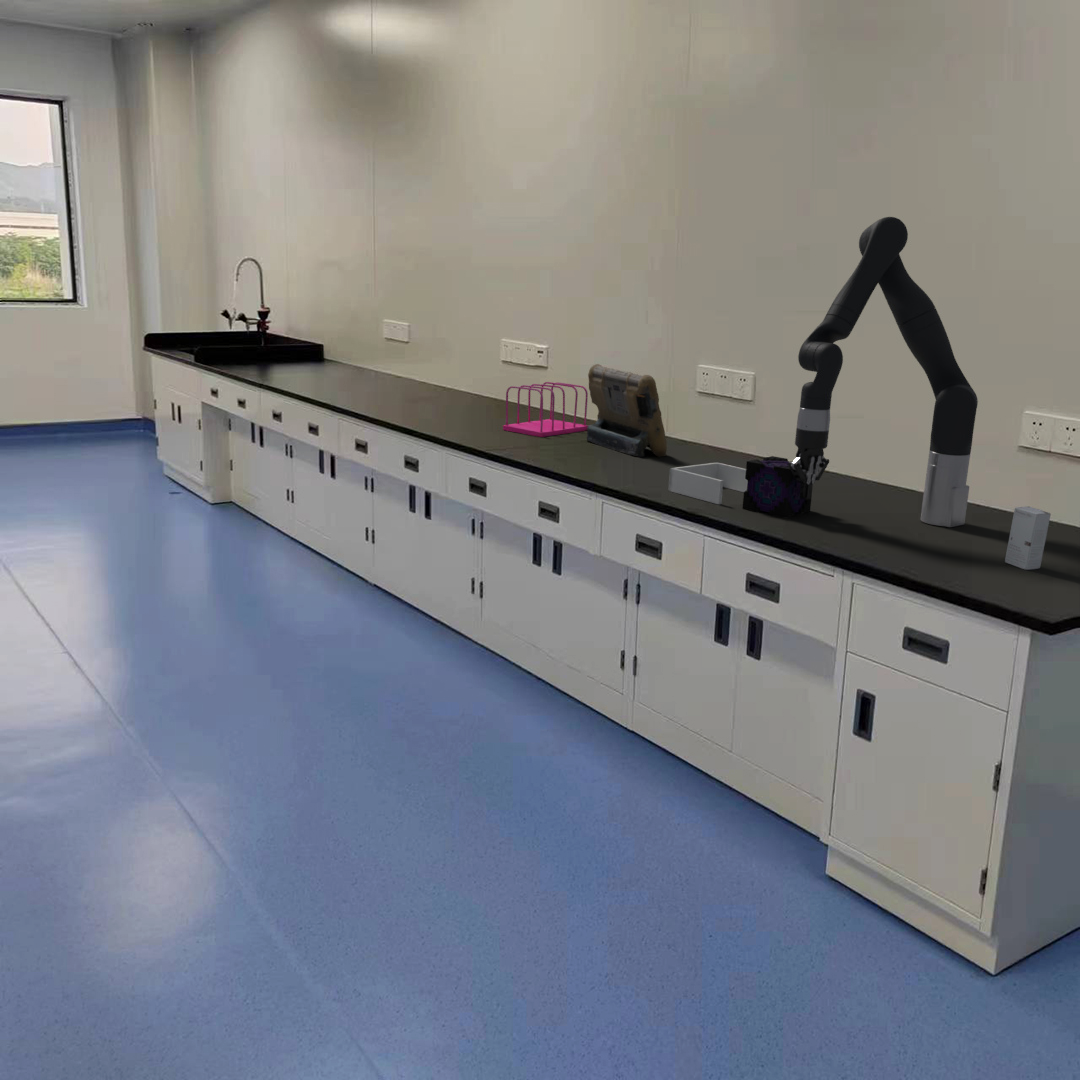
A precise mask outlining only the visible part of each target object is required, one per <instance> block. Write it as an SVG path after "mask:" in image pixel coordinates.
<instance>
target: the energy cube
mask: <svg viewBox="0 0 1080 1080" xmlns="http://www.w3.org/2000/svg"><path fill="white" fill-rule="evenodd" d="M790 461H791V460H790ZM790 461H789V458H785V457H780V456H774V455H772V456H766V457H763V460H759V459H751V460H747V461H746V465H745V469H746V475H745V479H746V480H748V483H747V490H746V491H745V492H743V500H742V510H747V511H752V512H757V513H760V512H766V513H768V514H769V515H771V516H774V517H779V518H784V519H785V518H791V517H794V516H795V513H798V514H804V513H809V512H810V511H811V506H812V505H811V504H812V498H813V497H812V495H813V494H812V495H811V498H810V499H802V498H800V485H801V483H800V482H799V481H796V480H795V479H794V477H793V474H792V472H791V470H790V468H789V465H788V463H789V462H790ZM804 475H805V474H804Z"/></svg>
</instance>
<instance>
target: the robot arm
mask: <svg viewBox="0 0 1080 1080" xmlns="http://www.w3.org/2000/svg"><path fill="white" fill-rule="evenodd" d="M908 236H909V233H908V229H907V226H906V224H905V223H904V222H903V221H902V220H901V219H899V218H897V217H896V216H895V217H894V216H886V217H882V218H880V219H877V220H876V221H874V222H873V223H871V224H870V225H869V226H867V228H866V229H864V231H862V233H861V234H860V237H859V241H858V249H859V251H860V254H861V259H860V261H859V262H858V265H857V266H856V268H854V271H853V272H852V274H851V275H850V276H849V278H848V279H847V281H846V282H845V284H844V285H843V286H842V287H841V289H840V290H839V292H838V293H837V294H836V296H835V298H834V300H833V302H832V303H831V305H830V307H829V308H828V310H827V313H826V314H825V316H824V318H823V320H822V321H821V322H820V324H818V326H816V327H815V329H814V330H813V331H812V332H811V333H810V334H809V335H808V337H807V338H806V339H805V340H804V341H803V343H802V345H801V346H800V348H799V352H798V356H797V359H798V364H799V366H800V367H801V368H802V369H803V370H806V371H807V372H814V373H816V374H815V377H814V379H813V381H809V382H805V383H804V384H803V385H802V388H801V392H800V402H799V403H800V404H799V410H798V413H797V420H796V429H795V439H794V445H795V446H796V447H797V450H796V453H795V458H794V459H793V460H792V461H791V460H790V462H789V463H788V465H789V468H790V470H791V472H792V474H793V477H794V479H795V480H796V481H799V482H800V483H801V485H800V498H802V499H810V498H811V495H813V485H814V484H815V483H816V481H819V480H821V478H822V476H823V474H824V473H825V471H826V469H827V467H828V465H829V464H830V459H829V458H826V457H825V456H824V455H825V453H824V450H825V449H826V448H827V447H828V444H829V443H828V442H829V441H828V440H829V436H830V435H829V433H830V425H831V404H832V396H833V391H834V388H835V386H836V382H837V381H838V378H839V376H840V372H841V370H842V368H843V367H842V366H843V363H844V355H843V351H842V349H841V347H840V346H839V345H838V344H836V342H838V341H842V340H845V339H847V338H848V337H850V335H851V333H852V332H853V330H854V328H855V326H856V324H857V322H858V320H859V318H860V317H861V315H862V313H863V311H864V309H865V307H866V305H867V303H868V301H869V300H870V298H871V297H872V294H873V292H874V290H875V289H876V287H877V286H878V285H879V287H880V289H881V291H882V294H883V296H884V299H885V300H886V303H887V306H888V307H889V309H890V311H891V313H892V316H893V318H894V320H895V323H896V325H897V327H898V329H899V331H900V334H901V336H902V338H903V340H904V343H905V344H906V345H907V348H908V349H909V351H910V352H911V354H912V355H913V357H914V359H916V361H917V362H918V363H919V365H920V367H922V370H923V371H924V373H925V374H926V377H927V379H928V382H929V384H930V386H931V389H932V393H933V395H934V398H935V401H934V402H935V403H934V407H933V414H932V415H933V416H932V423H931V424H932V425H931V432H930V439H929V440H930V442H929V443H930V444H929V451H928V452H929V453H928V458H927V459H928V460H927V464H926V465H927V467H926V474H925V481H924V489H923V496H922V504H921V511H920V514H921V515H920V521H921V522H922V523H925V524H929V525H933V526H939V527H947V528H953V527H958V526H963V525H965V523H966V521H965V520H966V515H967V506H968V501H969V500H968V499H969V494H970V485H967V482H968V473H969V466H970V459H971V452H972V445H973V437H974V430H975V422H976V416H977V415H976V414H977V408H978V402H979V400H978V396H977V393H976V392H975V391H974V388H973V387H972V386H971V384H970V382H969V381H968V380H967V378H966V376H965V375H964V373H963V371H962V369H961V368H960V366H959V364H958V361H957V359H956V357H955V355H954V353H953V352H954V351H953V349H952V346H951V345H952V344H951V341H950V340H949V336H948V334H947V332H946V329H945V326H944V324H943V321H942V320H941V316H940V315H939V311H938V310H937V308H936V305H935V303H934V302H933V300H932V299H931V298H930V297H929V295H928V294H927V292H925V291H924V290H923V289H922V287H920V286H919V285H918V284H917V283H916V282H915V281H914V279H913V278H912V277H911V276H910V274H909V273H908V271H907V269H906V267H905V264H904V262H903V261H902V258H901V256H900V253H901V252H902V250H904V248H905V247H906V245H907V243H908ZM804 474H805V475H804ZM811 499H812V498H811Z"/></svg>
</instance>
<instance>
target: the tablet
mask: <svg viewBox="0 0 1080 1080" xmlns="http://www.w3.org/2000/svg"><path fill="white" fill-rule="evenodd" d="M587 377H588V390H589V393H590V399H591V404H594V405H595V406H596V407H597V410H598V414H597V417H596V418H597V420H596V421H595V423H593V424H589V425H587V426H588V427H587V430H586V432H587V433H586V434H587V435H586V440H587V441H588V442H590V443H592V444H596V445H597V446H601V447H604V448H607V449H610V450H614V451H616V452H618V453H619V452H620V453H624V454H626V455H630V456H634V457H638V458H643V457H645V456H646V454H645V449H646V448H648V449H650V450H651V452H652V453H653V454H654V455H655V456H656V457H659V458H660V457H661V458H662V457H665V456H667V449H668V441H667V437H666V433H665V428H664V424H663V418H662V411H661V408H660V404H659V402H660V396H659V393H658V389H657V383H656V380H655V379H654V377H653V376H652V375H650V374H643V375H641V374H639V373H633V372H631V371H626V370H625V371H624V370H619V369H614V368H610V367H606V366H602V365H601V364H599V363H596V364H592V366H591V367H590V368H589V370H588V373H587Z"/></svg>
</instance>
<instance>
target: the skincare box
mask: <svg viewBox="0 0 1080 1080" xmlns="http://www.w3.org/2000/svg"><path fill="white" fill-rule="evenodd" d="M1051 514H1052V513H1051V512H1048V511H1045V510H1042V509H1039V508H1035V507H1031V506H1028V505H1027V506H1018V507H1017V506H1016V507H1014V511H1013V516H1012V522H1011V527H1010V532H1009V538H1008V543H1007V547H1006V554H1005V559H1004V562H1005V563H1006V564H1009V565H1011V566H1014V567H1017V568H1019V569H1022V570H1025V571H1026V570H1029V571H1030V570H1037V569H1040V568H1041V564H1042V561H1043V555H1044V549H1045V545H1046V540H1047V535H1048V529H1049V524H1050V520H1051Z"/></svg>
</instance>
